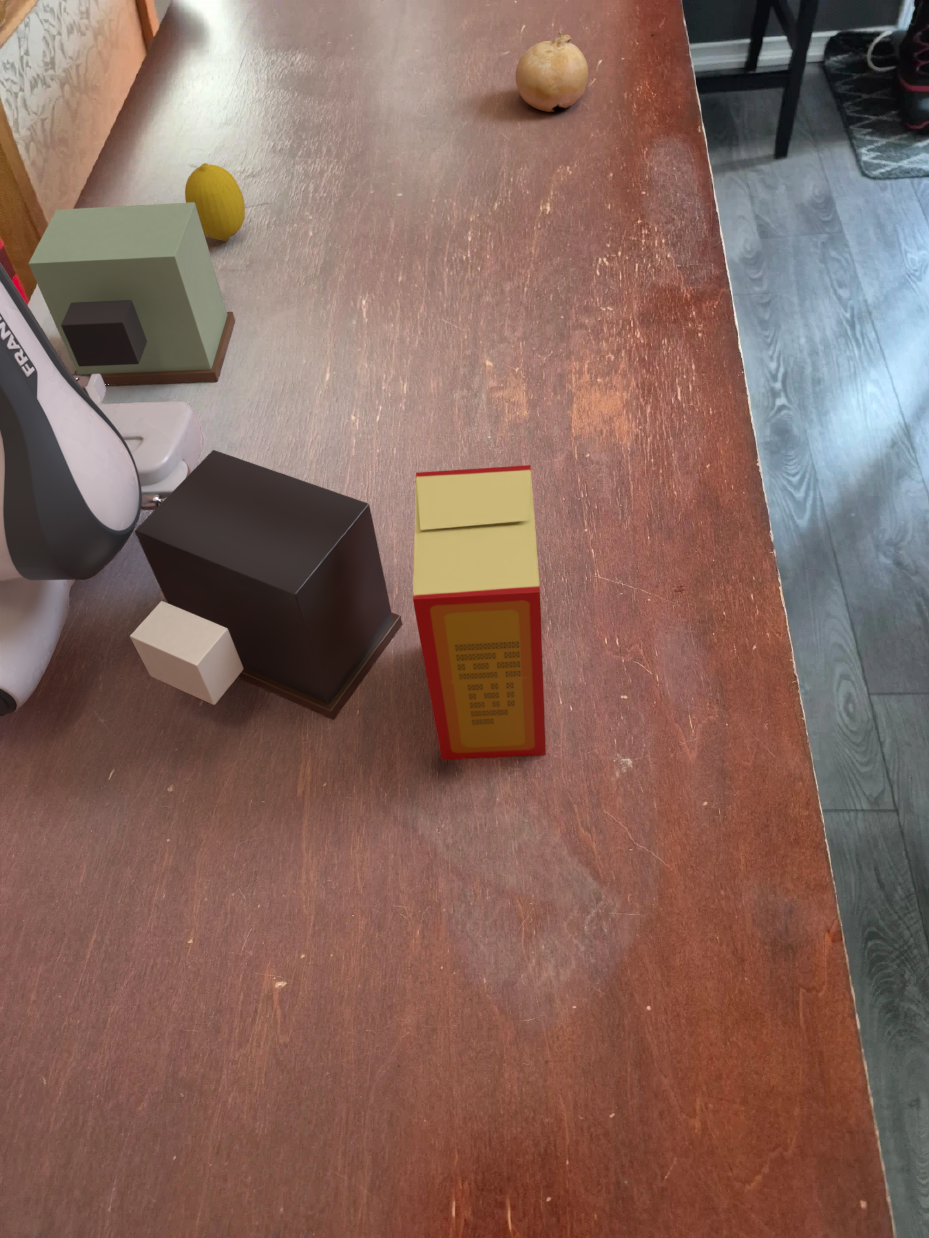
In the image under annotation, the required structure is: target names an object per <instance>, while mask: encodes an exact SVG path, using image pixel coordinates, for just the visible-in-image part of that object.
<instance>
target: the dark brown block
mask: <svg viewBox="0 0 929 1238" xmlns="http://www.w3.org/2000/svg"><path fill="white" fill-rule="evenodd" d="M61 327H62V329H63V331H64V334H65V336H66V338H67V340H68V343H69V345H70V347H71V349H72V352H73V354H74V356H75V359H76V361H77V363H78V365H79V367H82V366H107V365H131V364H139V363H140V360H141V357H142V354H143V352H144V349H145V346H146V344H147V339H146V337H145V334H144V331H143V329H142V326H141V323H140V321H139V318H138V315H137V312H136V310H135V307H134V304H133V302H132V300H117V301H95V302H73V303H71V304H70V306H69V308H68V311H67V313H66V315H65V317H64V319H63V321H62V324H61Z"/></svg>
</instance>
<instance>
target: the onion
mask: <svg viewBox="0 0 929 1238" xmlns="http://www.w3.org/2000/svg"><path fill="white" fill-rule="evenodd" d="M557 33H558V35H559V36H557V37H555V38H554V39H553V40H542V41H540V42H537V43H535V44H534V45H532V46H531V47H529V48H528V49H527V50H526V51H525V52H524V53H523V54H522V56H521V57H520V59H519V61H518V63H517V66H516V69H515V84H516V87H517V91H518V93H519V94H520V96H521V98H522V99H523V100H524V101H525V103H526V104H528V105H530V107H532V108H534V109H536V110H539V111H542V112H546V113H553V112H555V110H554V109H555V108H556V107H557V106H558V108H564V109H568V108H570V107H571V106H573V105H575V103H576V102H577V101H578V100H579V99H580V98H581V96H583V93H584V92H585V89H586V87H587V83H588V77H589V66H588V62H587V60H586V57H585V55H584V54H583V52H582V51H581V50H580V49H579V47H578V46H576V45H575V44H574V43H572V42H570V41H571V40H572V37H571V35H570V34H563V33H562V28H560V27H559V28H558V29H557Z"/></svg>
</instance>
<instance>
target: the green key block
mask: <svg viewBox="0 0 929 1238" xmlns="http://www.w3.org/2000/svg"><path fill="white" fill-rule="evenodd" d="M27 264H28V267H29V268H30V270H31V273H32V275H33V277H34V280H35V282H36V284H37V286H38V289H39V291H40V293H41V295H42V299H43V300H44V302H45V304H46V306H47V309H48V311H49V313H50V316H51V318H52V321H53V322H54V325H55V327H56V329H57V332H58V334H59V336H60V338H61V341H62V343H63V346H64V347H65V349H66V352H67V353H68V357H69V358H70V360H71V363H72V366H73V367H74V370H75V371H74V372H73V375H79V374H81V375H83V374H98V373H99V374H100V375H101V376H102V379H103V381H104V384H106V385H107V386H129V385H131V386H132V385H157V384H181V383H208V382H218V381H219V378H220V376H221V371H222V369H223V364H224V360H225V357H226V355H227V350H228V348H229V344H230V340H231V337H232V333H233V330H234V326H235V323H236V318H235V314H234V312H233V311H227V307H226V303H225V301H224V297H223V294H222V291H221V287H220V284H219V280H218V277H217V274H216V270H215V266H214V262H213V260H212V257H211V253H210V250H209V245H208V243H207V240H206V235H204V232H203V229H202V226H201V222H200V219H199V215H198V212H197V209H196V205H195V202H191V203H186V202H176V203H155V204H139V205H138V204H136V205H121V206H117V205H116V206H101V207H83V208H82V207H81V208H64V209H63V208H61V209H55V211H54V212H53V215H52V217H51V219H50V221H49V222H48V224H47V226H46V228H45V231H44V232H43V234H42V236H41V237H40V240H39V241H38V244H37V245H36V248H35V249H34V251H33V254H32V256H31V258H30V259H29V261H28V263H27ZM117 300H132V302H133V304H134V307H135V310H136V312H137V315H138V318H139V321H140V323H141V326H142V329H143V331H144V334H145V337H146V339H147V344H146V346H145V349H144V352H143V354H142V357H141V360H140V363H139V364H131V365H107V366H82V367H79V365H78V363H77V361H76V359H75V356H74V354H73V352H72V349H71V347H70V345H69V343H68V340H67V338H66V336H65V334H64V331H63V329H62V327H61V324H62V321H63V319H64V317H65V315H66V313H67V311H68V308H69V306H70V304H71V303H73V302H95V301H117ZM108 384H109V385H108ZM114 384H115V385H114ZM117 384H118V385H117Z"/></svg>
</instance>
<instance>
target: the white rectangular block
mask: <svg viewBox="0 0 929 1238" xmlns="http://www.w3.org/2000/svg"><path fill="white" fill-rule="evenodd" d="M129 638H130V640H131V642H132V643H133V646H134V647H135V649H136V651H137V653H138V656H139V657H140V659H141V662H142V663H143V665H144V667H145V669H146V670H147V672H148V674H149V676H150V677H152V678H154V679H156V680H158V681H160V682H162V683H165V684H167V685H168V686H171V687H173V688H175V689H178V690H180V691H182V692H184V693H187V694H189V695H191V696H194V697H195V698H198V699H200V700H201V701H204V702H206V703H209V704H211V705H212V706H215V705H217V703H218V701H220V699H221V698H222V697H223V696H224V694H225V693H226V691H227V690H228V689H229V688H230V687H231V686H232V684H233V683H234V682H235V680H236V679H237V678H238V675H239V674H240V673H241V672H242V670H243V669H244V668H243V666H242V663H241V661H240V658H239V656H238V653H237V651H236V648H235V646H234V643H233V641H232V638H231V636H230V633H229V631H228V629H227V628H225V627H223V626H220V625H218V624H216V623H213V622H211V621H209V620H206V619H204V618H201V617H199V616H197V615H194V614H192V613H189V612H187V611H185V610H182V609H180V608H178V607H175V606H173V605H170V604H168V603H167V601H163V600H161V601H159V603H158V604H157V605H156V606H155V607H154V608H153V609H152V610H151V612H150V613H149V614H148V615H147V616H146V617H145V618H144V619H143V620H142V622H141V623H140V624H139V625H138V626H137V627H136V628H135V629H134V630H133V632H132V633H131V634H130V635H129Z"/></svg>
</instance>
